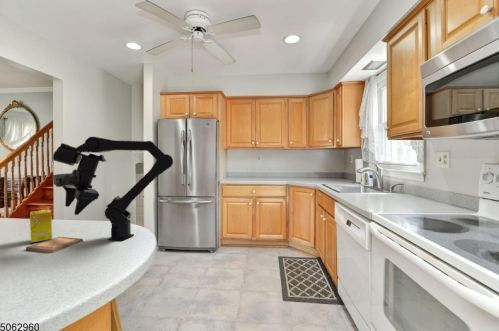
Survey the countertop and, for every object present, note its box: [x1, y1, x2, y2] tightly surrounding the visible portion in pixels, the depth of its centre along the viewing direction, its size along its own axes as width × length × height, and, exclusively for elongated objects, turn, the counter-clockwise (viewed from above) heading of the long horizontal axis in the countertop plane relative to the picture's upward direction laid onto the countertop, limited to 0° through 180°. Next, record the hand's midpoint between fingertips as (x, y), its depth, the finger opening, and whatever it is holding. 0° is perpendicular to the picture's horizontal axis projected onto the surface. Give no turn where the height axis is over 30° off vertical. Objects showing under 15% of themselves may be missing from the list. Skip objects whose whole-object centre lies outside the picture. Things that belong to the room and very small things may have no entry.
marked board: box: [25, 236, 84, 254], centre depth 83 cm, size 11×11×1 cm
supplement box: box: [29, 209, 53, 245], centre depth 88 cm, size 6×6×11 cm
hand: (71, 210), depth 86 cm, fingers open, 9 cm apart
